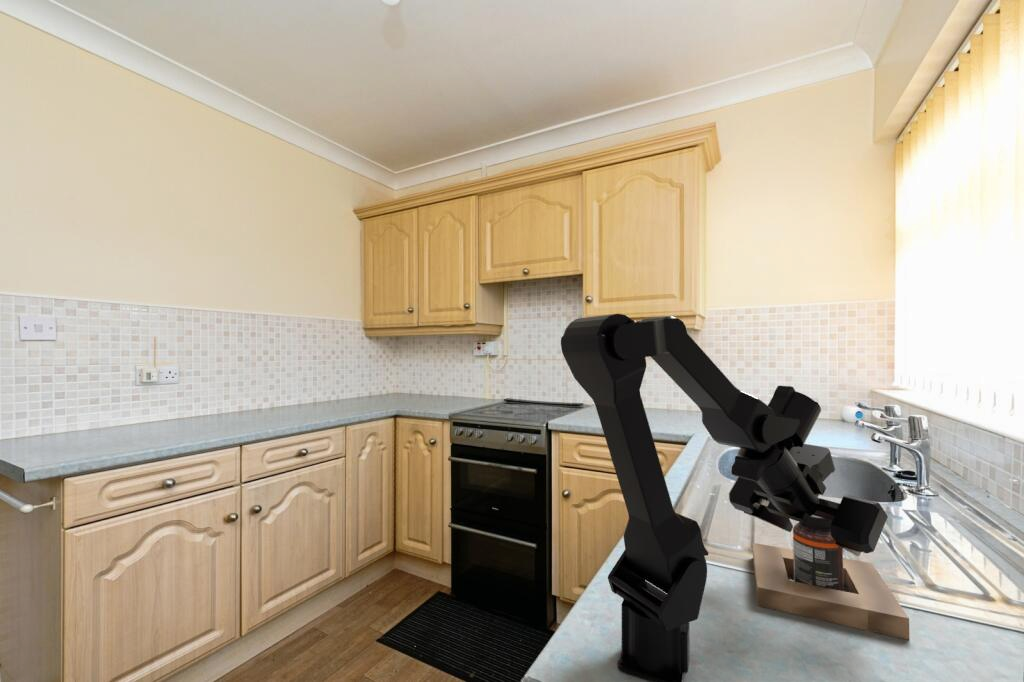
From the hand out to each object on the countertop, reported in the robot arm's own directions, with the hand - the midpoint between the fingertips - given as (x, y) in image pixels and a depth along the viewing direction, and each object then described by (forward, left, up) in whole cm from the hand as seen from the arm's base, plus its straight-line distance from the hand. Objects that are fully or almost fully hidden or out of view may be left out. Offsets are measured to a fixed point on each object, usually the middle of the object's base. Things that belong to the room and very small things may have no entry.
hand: (822, 540), depth 65 cm
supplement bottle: (-1, -1, -7) cm, 7 cm away
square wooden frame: (-1, -1, -7) cm, 7 cm away
